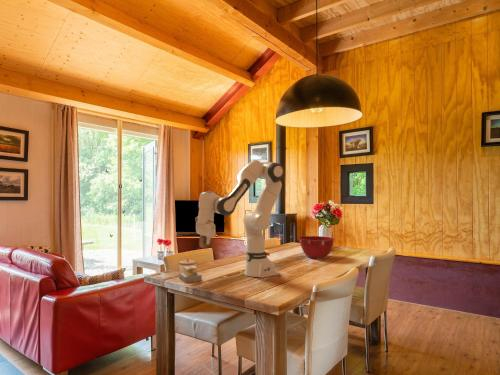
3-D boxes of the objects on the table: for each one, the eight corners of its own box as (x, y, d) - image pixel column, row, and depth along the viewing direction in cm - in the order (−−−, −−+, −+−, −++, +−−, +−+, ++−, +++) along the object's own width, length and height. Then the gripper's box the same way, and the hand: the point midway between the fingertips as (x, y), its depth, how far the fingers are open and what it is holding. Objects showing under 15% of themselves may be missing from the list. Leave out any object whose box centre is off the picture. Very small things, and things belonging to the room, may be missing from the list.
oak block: (193, 272, 193) (193, 265, 193) (197, 274, 188) (197, 267, 188) (183, 273, 190) (183, 266, 190) (187, 275, 185) (187, 268, 185)
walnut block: (207, 246, 189) (207, 236, 189) (210, 247, 184) (211, 237, 185) (199, 246, 186) (199, 236, 186) (202, 248, 182) (203, 237, 182)
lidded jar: (179, 276, 194) (179, 261, 195) (178, 272, 205) (178, 257, 205) (197, 275, 197) (197, 260, 197) (195, 271, 208) (195, 257, 208)
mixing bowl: (292, 254, 270) (292, 236, 270) (322, 253, 279) (322, 235, 279) (308, 261, 243) (308, 241, 243) (341, 259, 252) (341, 239, 252)
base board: (195, 276, 196) (195, 271, 196) (201, 280, 187) (201, 275, 187) (179, 278, 191) (179, 273, 191) (184, 282, 182) (184, 277, 182)
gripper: (218, 220, 179) (218, 245, 178) (204, 218, 196) (203, 240, 196) (208, 221, 175) (207, 246, 175) (194, 218, 193) (193, 241, 192)
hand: (205, 243), depth 185 cm, fingers closed on walnut block, 5 cm apart
